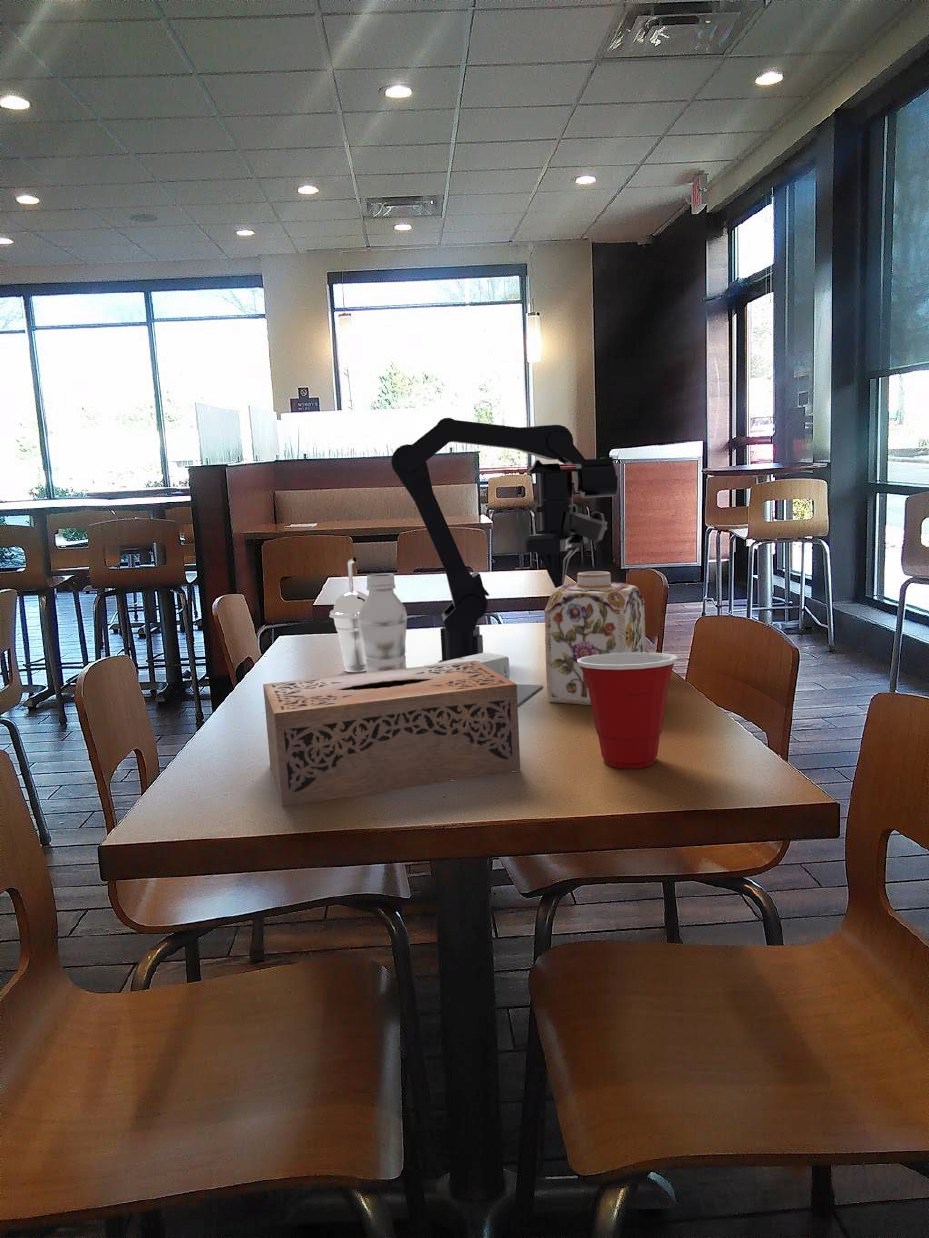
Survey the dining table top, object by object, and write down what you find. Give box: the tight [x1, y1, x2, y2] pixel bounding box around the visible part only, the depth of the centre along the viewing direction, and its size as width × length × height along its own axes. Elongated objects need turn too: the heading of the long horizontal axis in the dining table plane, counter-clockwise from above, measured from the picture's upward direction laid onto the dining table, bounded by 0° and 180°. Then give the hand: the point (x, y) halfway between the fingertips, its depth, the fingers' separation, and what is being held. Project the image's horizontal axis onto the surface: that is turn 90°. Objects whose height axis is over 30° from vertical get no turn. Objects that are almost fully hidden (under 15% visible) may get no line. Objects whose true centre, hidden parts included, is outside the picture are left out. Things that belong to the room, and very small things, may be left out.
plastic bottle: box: [359, 573, 408, 673], centre depth 118 cm, size 6×7×20 cm
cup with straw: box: [328, 557, 368, 673], centre depth 153 cm, size 8×9×20 cm
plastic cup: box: [577, 651, 678, 770], centre depth 98 cm, size 11×11×12 cm
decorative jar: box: [543, 570, 646, 706], centre depth 127 cm, size 12×12×18 cm
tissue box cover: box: [262, 661, 521, 808], centre depth 100 cm, size 26×14×10 cm, turn 107°
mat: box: [516, 683, 544, 707], centre depth 131 cm, size 12×14×1 cm
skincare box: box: [425, 652, 510, 680], centre depth 136 cm, size 6×4×12 cm
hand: (559, 588), depth 156 cm, fingers closed
